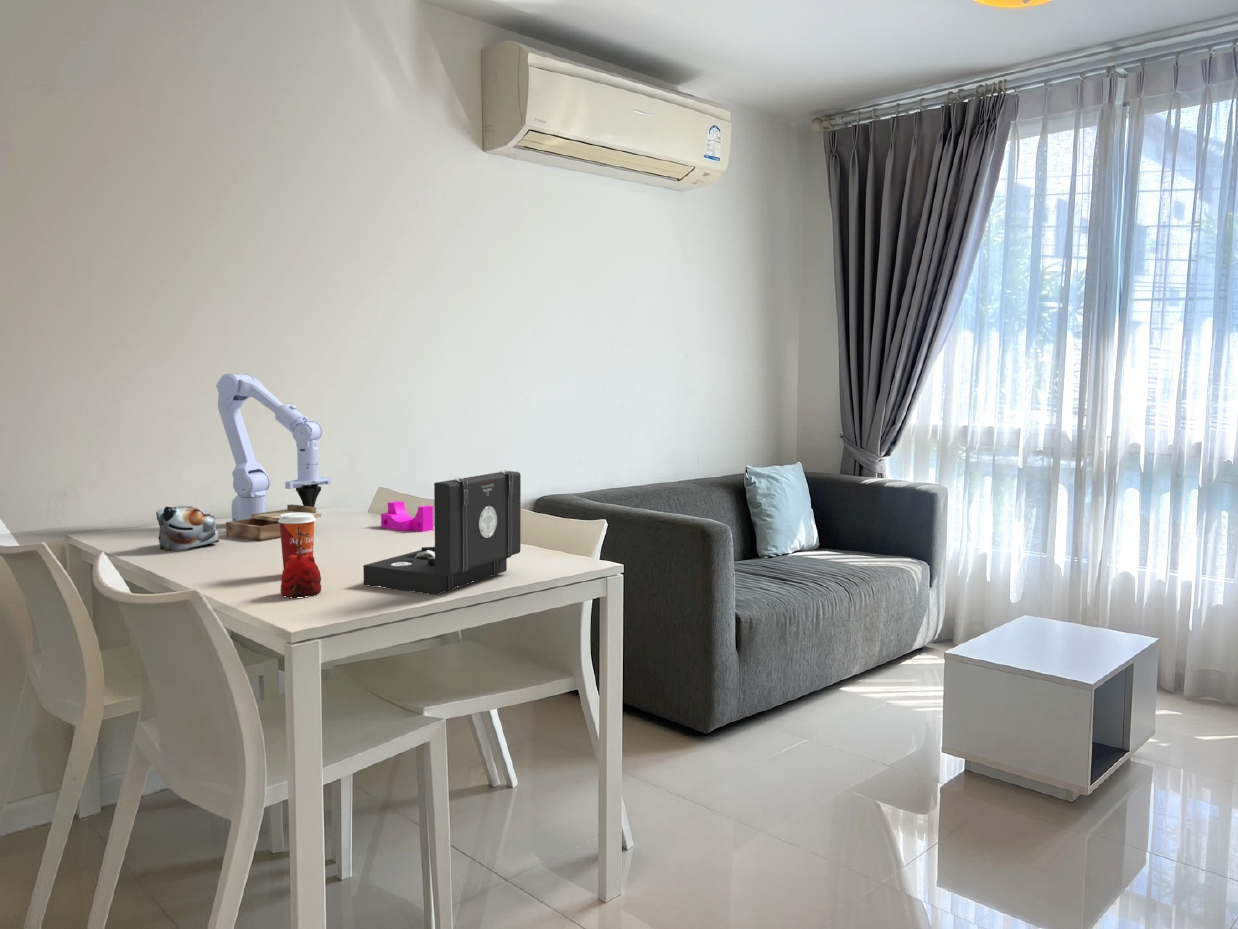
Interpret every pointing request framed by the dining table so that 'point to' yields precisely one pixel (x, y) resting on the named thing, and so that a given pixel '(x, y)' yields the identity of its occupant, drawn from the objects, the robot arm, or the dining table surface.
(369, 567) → the watch box
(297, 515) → the paper cup
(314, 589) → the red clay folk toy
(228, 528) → the walnut box
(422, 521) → the toy block
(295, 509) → the lid
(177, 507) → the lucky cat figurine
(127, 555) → the dining table surface
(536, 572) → the dining table surface
